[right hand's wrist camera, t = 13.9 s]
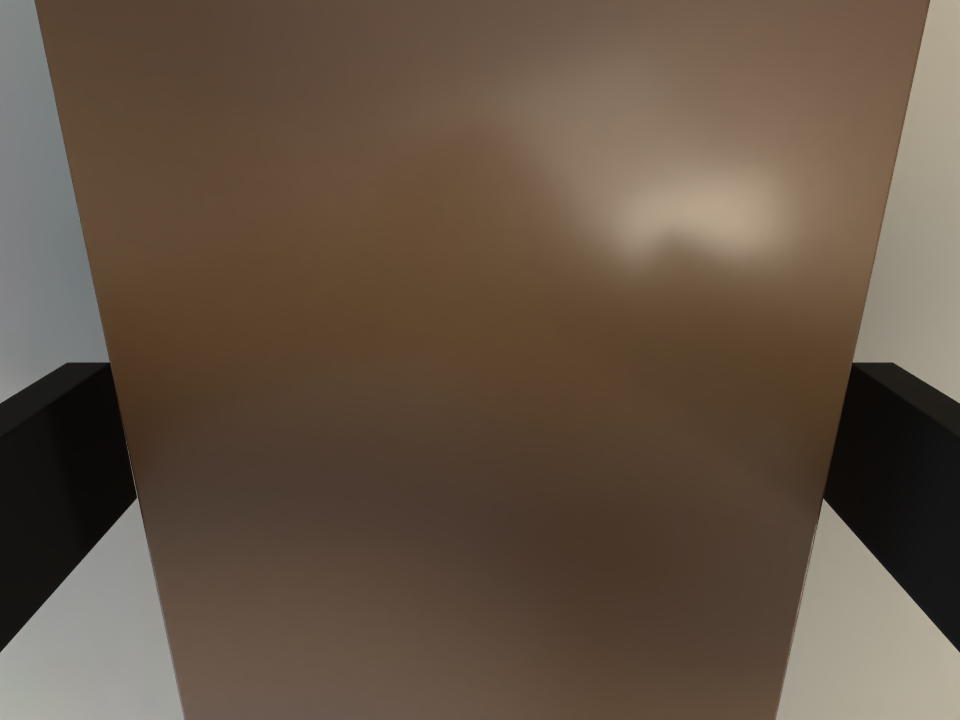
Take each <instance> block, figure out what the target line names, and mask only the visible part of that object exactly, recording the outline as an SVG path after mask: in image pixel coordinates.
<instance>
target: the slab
mask: <svg viewBox="0 0 960 720" xmlns="http://www.w3.org/2000/svg"><path fill="white" fill-rule="evenodd" d="M929 3H930V0H35V5H36V9H37V14H38V19H39V24H40V29H41V33H42V38H43V43H44V48H45V53H46V57H47V62H48V67H49V72H50V77H51V82H52V86H53V91H54V96H55V101H56V106H57V110H58V115H59V120H60V125H61V130H62V134H63V139H64V144H65V149H66V154H67V158H68V163H69V168H70V173H71V178H72V182H73V187H74V192H75V197H76V202H77V206H78V211H79V216H80V221H81V226H82V230H83V235H84V240H85V245H86V250H87V254H88V259H89V264H90V269H91V274H92V278H93V283H94V288H95V293H96V298H97V302H98V307H99V312H100V317H101V322H102V326H103V331H104V336H105V341H106V346H107V350H108V355H109V360H110V365H111V370H112V374H113V379H114V384H115V389H116V394H117V398H118V403H119V408H120V413H121V418H122V422H123V427H124V432H125V437H126V442H127V446H128V451H129V456H130V461H131V466H132V470H133V475H134V480H135V485H136V490H137V494H138V499H139V504H140V509H141V514H142V518H143V523H144V528H145V533H146V538H147V542H148V547H149V552H150V557H151V562H152V566H153V571H154V576H155V581H156V586H157V591H158V595H159V600H160V605H161V610H162V615H163V619H164V624H165V629H166V634H167V639H168V643H169V648H170V653H171V658H172V663H173V667H174V672H175V677H176V682H177V687H178V691H179V696H180V701H181V706H182V711H183V715H184V720H776V715H777V711H778V706H779V701H780V697H781V692H782V687H783V683H784V678H785V674H786V669H787V664H788V660H789V655H790V650H791V646H792V641H793V636H794V632H795V627H796V622H797V618H798V613H799V608H800V604H801V599H802V594H803V590H804V585H805V580H806V576H807V571H808V566H809V562H810V557H811V552H812V548H813V543H814V539H815V534H816V529H817V525H818V520H819V515H820V511H821V506H822V501H823V497H824V492H825V487H826V483H827V478H828V473H829V469H830V464H831V459H832V455H833V450H834V445H835V441H836V436H837V431H838V427H839V422H840V417H841V413H842V408H843V403H844V399H845V394H846V390H847V385H848V380H849V376H850V371H851V366H852V362H853V357H854V352H855V348H856V343H857V338H858V334H859V329H860V324H861V320H862V315H863V310H864V306H865V301H866V296H867V292H868V287H869V282H870V278H871V273H872V268H873V264H874V259H875V255H876V250H877V245H878V241H879V236H880V231H881V227H882V222H883V217H884V213H885V208H886V203H887V199H888V194H889V189H890V185H891V180H892V175H893V171H894V166H895V161H896V157H897V152H898V147H899V143H900V138H901V133H902V129H903V124H904V120H905V115H906V110H907V106H908V101H909V96H910V92H911V87H912V82H913V78H914V73H915V68H916V64H917V59H918V54H919V50H920V45H921V40H922V36H923V31H924V26H925V22H926V17H927V12H928V8H929Z"/></svg>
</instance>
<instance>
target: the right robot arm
mask: <svg viewBox="0 0 960 720" xmlns="http://www.w3.org/2000/svg"><path fill="white" fill-rule="evenodd" d="M136 498H137V495H136V490H135V485H134V480H133V474H132V469H131V464H130V459H129V454H128V449H127V444H126V439H125V434H124V429H123V424H122V419H121V414H120V409H119V403H118V398H117V394H116V389H115V384H114V379H113V374H112V370H111V365H110V363H66V364H64V365H63V366H61V367H59V368H58V369H56V370H54V371H53V372H51V373H49V374H48V375H46V376H45V377H43V378H41V379H40V380H38V381H36V382H35V383H33V384H31V385H30V386H28V387H27V388H25V389H23V390H22V391H20V392H18V393H17V394H15V395H13V396H12V397H10V398H9V399H7V400H5V401H4V402H2V403H0V652H1V651H2V650H3V649H4V648H5V646H6V645H7V644H8V643H9V642H10V641H11V640H12V639H13V637H14V636H15V635H16V634H17V633H18V632H19V631H20V629H21V628H22V627H23V626H24V625H25V624H26V623H27V622H28V620H29V619H30V618H31V617H32V616H33V615H34V614H35V613H36V611H37V610H38V609H39V608H40V607H41V606H42V605H43V603H44V602H45V601H46V600H47V599H48V598H49V597H50V596H51V594H52V593H53V592H54V591H55V590H56V589H57V588H58V587H59V585H60V584H61V583H62V582H63V581H64V580H65V579H66V578H67V576H68V575H69V574H70V573H71V572H72V571H73V570H74V568H75V567H76V566H77V565H78V564H79V563H80V562H81V561H82V559H83V558H84V557H85V556H86V555H87V554H88V553H89V552H90V550H91V549H92V548H93V547H94V546H95V545H96V544H97V542H98V541H99V540H100V539H101V538H102V537H103V536H104V535H105V533H106V532H107V531H108V530H109V529H110V528H111V527H112V526H113V524H114V523H115V522H116V521H117V520H118V519H119V518H120V517H121V515H122V514H123V513H124V512H125V511H126V510H127V509H128V507H129V506H130V505H131V504H132V503H133V502H134V501H135V500H136ZM823 498H824V500H825V501H826V502H827V503H828V504H829V505H830V506H831V507H832V509H833V510H834V511H835V512H836V513H837V514H838V515H839V517H840V518H841V519H842V520H843V521H844V522H845V523H846V524H847V526H848V527H849V528H850V529H851V530H852V531H853V532H854V533H855V535H856V536H857V537H858V538H859V539H860V540H861V541H862V542H863V544H864V545H865V546H866V547H867V548H868V549H869V550H870V552H871V553H872V554H873V555H874V556H875V557H876V558H877V559H878V561H879V562H880V563H881V564H882V565H883V566H884V567H885V568H886V570H887V571H888V572H889V573H890V574H891V575H892V576H893V578H894V579H895V580H896V581H897V582H898V583H899V584H900V585H901V587H902V588H903V589H904V590H905V591H906V592H907V593H908V594H909V596H910V597H911V598H912V599H913V600H914V601H915V602H916V603H917V605H918V606H919V607H920V608H921V609H922V610H923V611H924V613H925V614H926V615H927V616H928V617H929V618H930V619H931V620H932V622H933V623H934V624H935V625H936V626H937V627H938V628H939V629H940V631H941V632H942V633H943V634H944V635H945V636H946V637H947V639H948V640H949V641H950V642H951V643H952V644H953V645H954V646H955V648H956V649H957V650H958V651H959V652H960V403H958V402H956V401H955V400H953V399H951V398H950V397H948V396H947V395H945V394H943V393H942V392H940V391H938V390H937V389H935V388H933V387H932V386H930V385H929V384H927V383H925V382H924V381H922V380H920V379H919V378H917V377H915V376H914V375H912V374H911V373H909V372H907V371H906V370H904V369H902V368H901V367H899V366H897V365H896V364H894V363H852V366H851V371H850V376H849V380H848V385H847V390H846V394H845V399H844V403H843V408H842V413H841V417H840V422H839V427H838V431H837V436H836V441H835V445H834V450H833V455H832V459H831V464H830V469H829V473H828V478H827V483H826V487H825V492H824V497H823Z"/></svg>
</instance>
